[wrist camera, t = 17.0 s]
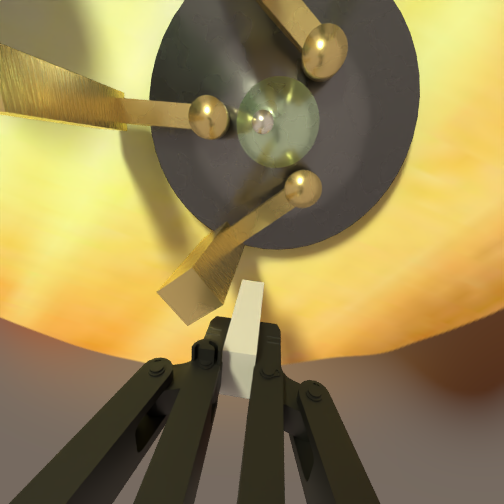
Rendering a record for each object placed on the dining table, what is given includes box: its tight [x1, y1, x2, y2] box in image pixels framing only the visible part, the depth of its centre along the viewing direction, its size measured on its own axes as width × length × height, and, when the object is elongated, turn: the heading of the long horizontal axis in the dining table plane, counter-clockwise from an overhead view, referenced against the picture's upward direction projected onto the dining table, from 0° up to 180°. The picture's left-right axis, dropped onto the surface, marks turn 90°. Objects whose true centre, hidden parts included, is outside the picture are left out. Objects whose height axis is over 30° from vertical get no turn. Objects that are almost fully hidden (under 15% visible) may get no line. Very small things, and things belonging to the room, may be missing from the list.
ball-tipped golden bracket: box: [157, 170, 322, 326], centre depth 17 cm, size 11×3×10 cm, turn 126°
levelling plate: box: [149, 0, 420, 249], centre depth 19 cm, size 20×20×2 cm
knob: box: [0, 43, 230, 140], centre depth 15 cm, size 11×3×10 cm, turn 85°
